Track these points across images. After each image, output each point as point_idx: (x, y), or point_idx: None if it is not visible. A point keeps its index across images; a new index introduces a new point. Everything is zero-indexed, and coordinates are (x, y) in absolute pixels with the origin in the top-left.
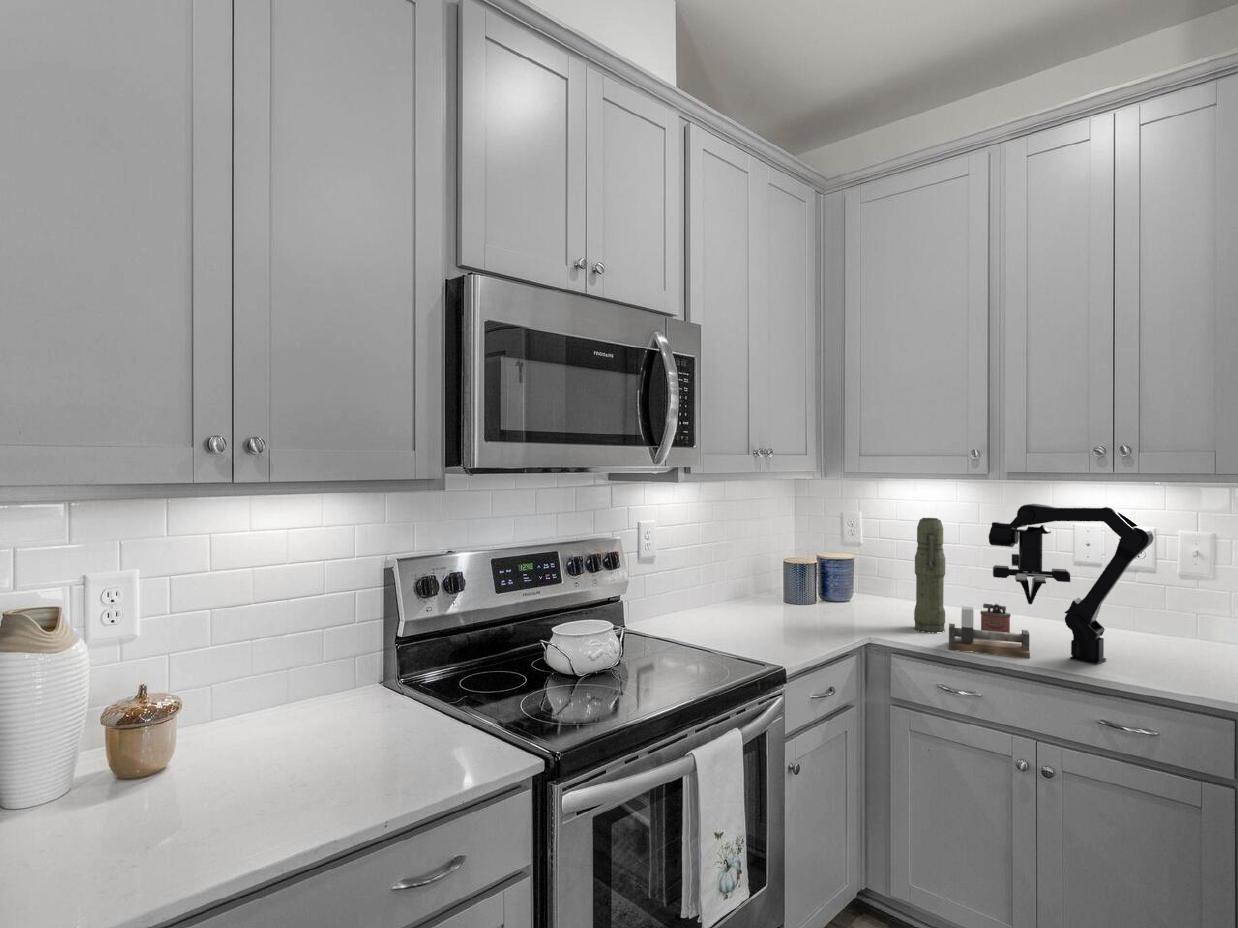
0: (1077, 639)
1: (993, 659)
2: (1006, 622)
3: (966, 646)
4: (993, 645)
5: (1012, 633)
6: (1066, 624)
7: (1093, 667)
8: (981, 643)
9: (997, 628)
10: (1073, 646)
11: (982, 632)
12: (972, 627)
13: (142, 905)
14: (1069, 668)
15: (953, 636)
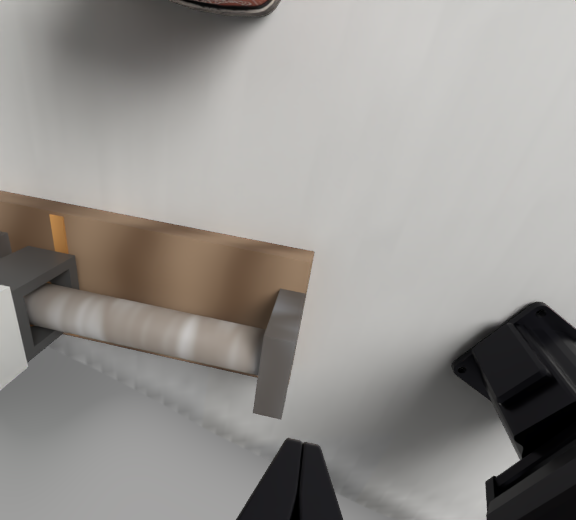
0: (514, 443)
1: (169, 396)
2: None
3: (68, 334)
4: (162, 304)
5: (214, 361)
6: (488, 515)
7: (484, 442)
8: (116, 280)
9: None
10: (490, 390)
11: (84, 336)
12: (23, 367)
13: None
14: (388, 456)
15: None
